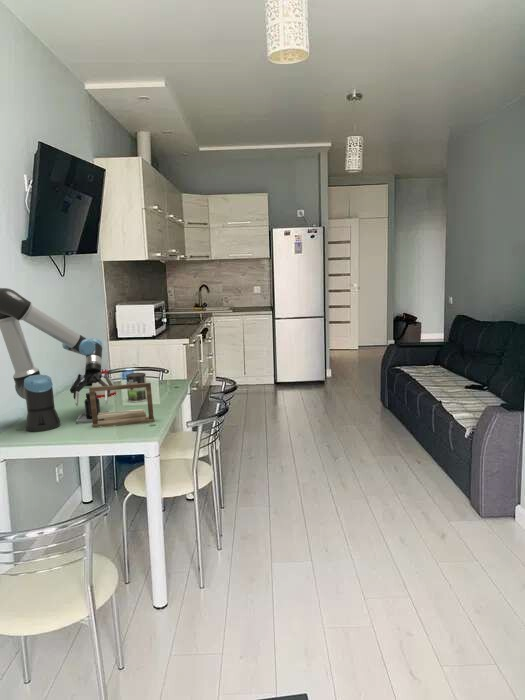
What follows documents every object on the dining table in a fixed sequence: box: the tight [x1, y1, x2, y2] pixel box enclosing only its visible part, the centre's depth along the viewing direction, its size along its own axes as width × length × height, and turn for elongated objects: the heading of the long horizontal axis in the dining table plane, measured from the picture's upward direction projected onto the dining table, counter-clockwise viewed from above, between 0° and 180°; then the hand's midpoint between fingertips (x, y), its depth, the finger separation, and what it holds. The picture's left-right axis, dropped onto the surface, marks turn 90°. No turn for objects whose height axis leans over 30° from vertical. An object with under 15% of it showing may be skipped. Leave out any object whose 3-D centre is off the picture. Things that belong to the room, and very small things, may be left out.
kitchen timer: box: [91, 368, 117, 399], centre depth 310 cm, size 14×14×15 cm
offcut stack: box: [97, 408, 147, 424], centre depth 248 cm, size 5×21×4 cm, turn 98°
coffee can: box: [125, 372, 147, 403], centre depth 293 cm, size 10×10×14 cm
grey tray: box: [75, 410, 110, 425], centre depth 259 cm, size 13×13×2 cm
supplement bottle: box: [83, 392, 102, 419], centre depth 258 cm, size 7×7×12 cm
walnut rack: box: [88, 382, 155, 428], centre depth 248 cm, size 6×27×18 cm, turn 99°
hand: (91, 403), depth 257 cm, fingers open, 13 cm apart
